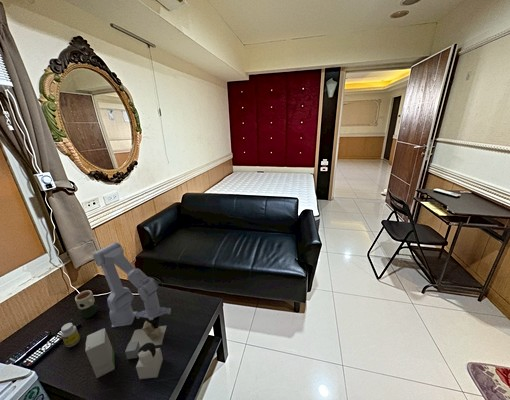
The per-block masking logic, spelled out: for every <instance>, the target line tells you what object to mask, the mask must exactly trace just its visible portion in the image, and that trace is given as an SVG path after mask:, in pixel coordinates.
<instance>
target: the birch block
mask: <svg viewBox="0 0 510 400" xmlns="http://www.w3.org/2000/svg"><path fill="white" fill-rule="evenodd" d="M159 326H160V325H159ZM159 326H158V328H156V329H155V328H154V326H153V325H152V324H151V323H149V322H147V320H145V321H144V324H143V327H142V328H141V329H143V331H144V332H145V333H146V334H147V336H148V337H149V338H150V340H153V339H155V338H158V337H159V335H160V332H161V328H160V327H159Z"/></svg>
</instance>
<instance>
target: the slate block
mask: <svg viewBox="0 0 510 400" xmlns="http://www.w3.org/2000/svg"><path fill="white" fill-rule="evenodd" d="M139 349H140V345H139V342H131V343H130V342H128V343H127V346H126V349H125V350H124V351H125V352H124V353H125V356H126V359H127V360H131V359H137V358H139V356H138V351H139Z"/></svg>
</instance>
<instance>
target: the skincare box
mask: <svg viewBox="0 0 510 400" xmlns="http://www.w3.org/2000/svg"><path fill="white" fill-rule="evenodd" d="M85 353H86V356H87V359H88V360H89V363H90V365H91V367H92V371H93V373H94V375H95V378H96V379H98V378H100V377H102V376H105V375H106V374H108V373H110V372H112V371H114V370H115V367H116V366H115V352H114V349H113V346H112V344H111V341H110V339H109V335H108V333H107V330H106V328H104V327H103V328H101V329H98V330H97V331H95V332H92V333H90V334H88V335H87V336H86V341H85Z"/></svg>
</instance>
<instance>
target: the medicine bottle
mask: <svg viewBox="0 0 510 400" xmlns="http://www.w3.org/2000/svg"><path fill="white" fill-rule="evenodd" d="M163 358H164V357H163V353H162V350H161V347H158V348H156V345H154V344H153V343H146V344H144V345H143V346H142V347H141V348H140V349H139V351H138V361H137V363H136V366H135V370H136V372H137V376H138V378H139V379H138V380H143V379H152V378H158V376H159V374H160V371H161V370H160V369H161V367H162V364H163V360H164V359H163Z"/></svg>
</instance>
